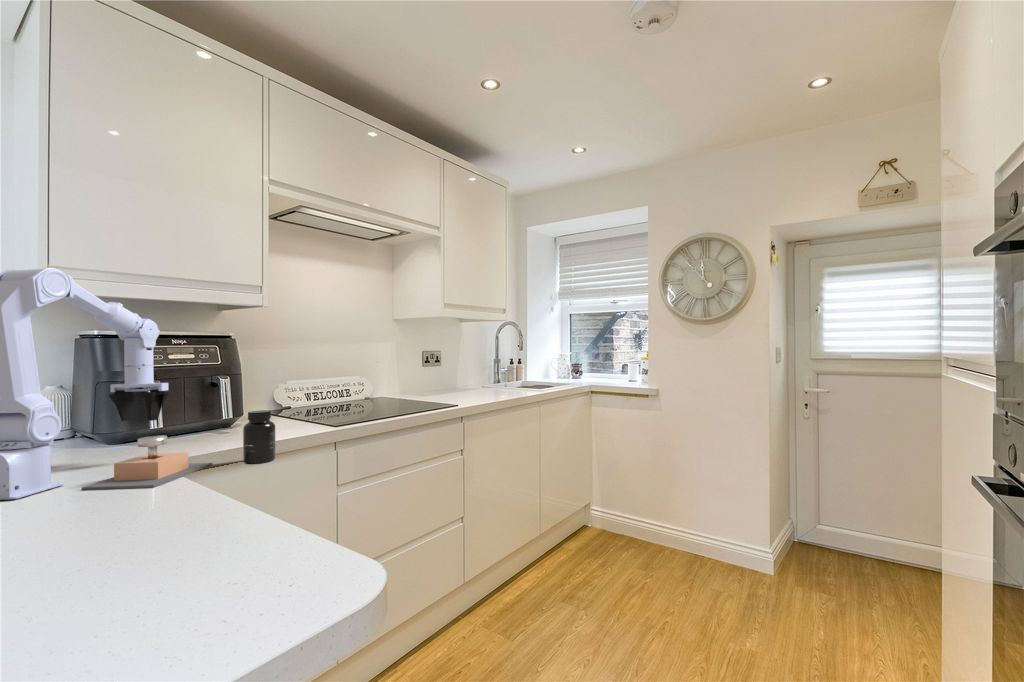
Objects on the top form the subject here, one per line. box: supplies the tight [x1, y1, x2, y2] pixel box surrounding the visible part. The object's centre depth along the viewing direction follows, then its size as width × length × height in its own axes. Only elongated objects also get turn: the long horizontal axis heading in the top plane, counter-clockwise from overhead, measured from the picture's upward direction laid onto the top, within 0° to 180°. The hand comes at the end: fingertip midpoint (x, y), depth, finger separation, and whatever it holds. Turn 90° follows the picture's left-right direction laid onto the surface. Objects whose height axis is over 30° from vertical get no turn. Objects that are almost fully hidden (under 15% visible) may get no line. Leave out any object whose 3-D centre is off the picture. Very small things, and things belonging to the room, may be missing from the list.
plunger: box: [137, 434, 168, 459], centre depth 99 cm, size 5×5×5 cm
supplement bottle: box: [242, 409, 277, 465], centre depth 111 cm, size 7×7×12 cm
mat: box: [81, 462, 214, 491], centre depth 99 cm, size 18×14×1 cm
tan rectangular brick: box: [113, 451, 190, 481], centre depth 99 cm, size 9×9×4 cm
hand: (139, 420), depth 116 cm, fingers open, 7 cm apart
